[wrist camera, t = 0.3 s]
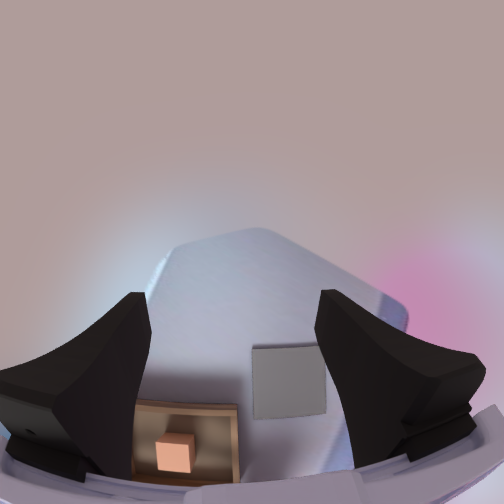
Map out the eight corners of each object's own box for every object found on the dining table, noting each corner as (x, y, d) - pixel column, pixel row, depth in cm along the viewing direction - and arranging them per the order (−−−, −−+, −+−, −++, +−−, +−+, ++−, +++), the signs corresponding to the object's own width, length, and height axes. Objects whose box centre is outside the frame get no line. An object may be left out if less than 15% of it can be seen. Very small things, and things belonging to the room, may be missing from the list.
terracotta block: (195, 459, 32) (190, 472, 27) (167, 457, 31) (158, 469, 27) (194, 434, 33) (188, 444, 28) (165, 432, 33) (155, 442, 28)
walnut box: (239, 481, 32) (240, 494, 28) (134, 473, 31) (124, 483, 27) (237, 403, 36) (236, 409, 32) (127, 397, 35) (115, 401, 31)
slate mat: (325, 413, 36) (325, 413, 36) (253, 418, 35) (253, 419, 35) (323, 345, 39) (323, 345, 39) (251, 349, 39) (252, 349, 38)
